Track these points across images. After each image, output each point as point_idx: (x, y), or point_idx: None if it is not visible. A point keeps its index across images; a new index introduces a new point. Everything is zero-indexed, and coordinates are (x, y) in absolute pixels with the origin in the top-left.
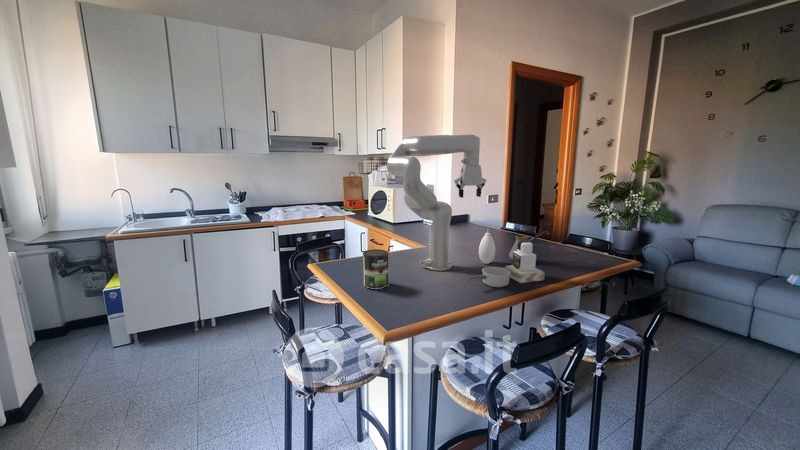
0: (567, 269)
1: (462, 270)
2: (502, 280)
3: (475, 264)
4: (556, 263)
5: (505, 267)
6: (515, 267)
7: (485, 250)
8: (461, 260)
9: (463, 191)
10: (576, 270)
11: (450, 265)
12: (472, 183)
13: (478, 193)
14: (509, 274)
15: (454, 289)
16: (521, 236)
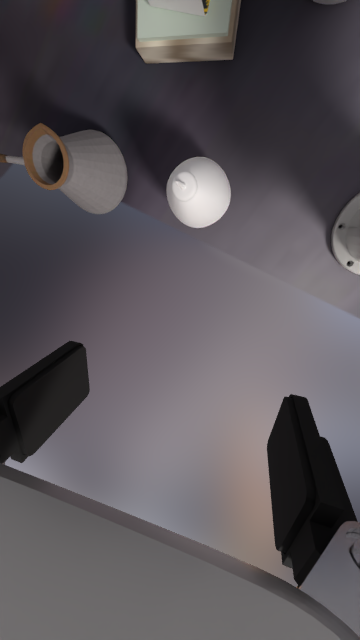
0: (21, 35)
1: (335, 159)
2: None
3: (245, 204)
4: (23, 112)
5: (229, 34)
6: None
7: (222, 170)
8: (256, 261)
9: (301, 463)
10: (2, 13)
11: (355, 203)
12: (74, 576)
13: (64, 379)
14: None
15: None
16: (41, 179)
